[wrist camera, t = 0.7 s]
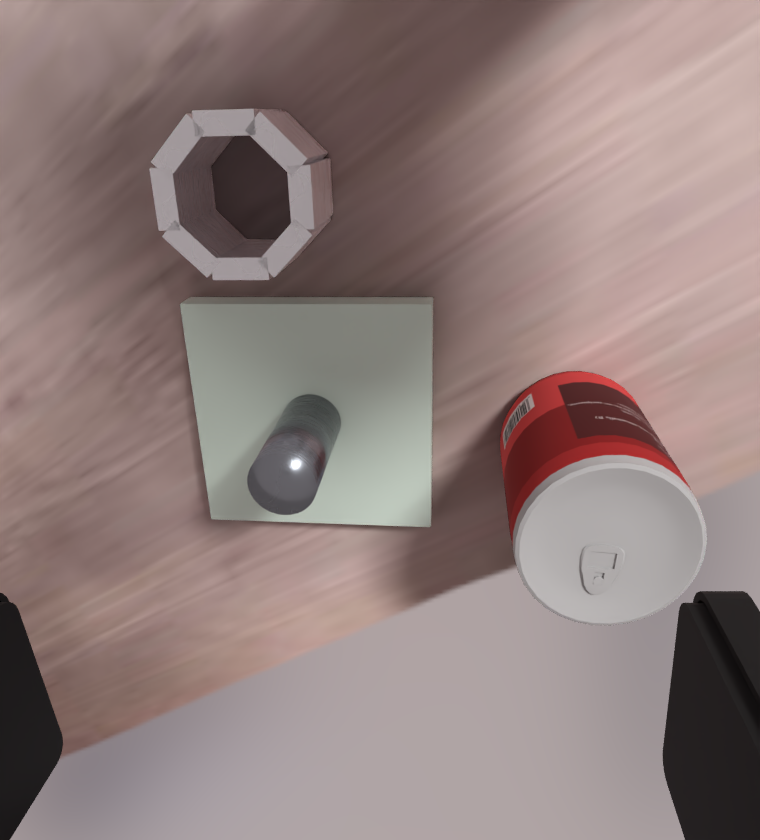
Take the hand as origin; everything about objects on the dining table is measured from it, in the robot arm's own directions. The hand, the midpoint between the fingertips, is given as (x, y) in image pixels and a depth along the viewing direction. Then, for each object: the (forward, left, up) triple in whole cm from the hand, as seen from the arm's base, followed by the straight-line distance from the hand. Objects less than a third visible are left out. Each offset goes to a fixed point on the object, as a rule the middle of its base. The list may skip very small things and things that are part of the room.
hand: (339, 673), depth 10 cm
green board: (+8, -6, -28) cm, 29 cm away
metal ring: (-4, -8, -28) cm, 29 cm away
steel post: (+8, -6, -26) cm, 28 cm away
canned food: (+9, +8, -28) cm, 30 cm away
